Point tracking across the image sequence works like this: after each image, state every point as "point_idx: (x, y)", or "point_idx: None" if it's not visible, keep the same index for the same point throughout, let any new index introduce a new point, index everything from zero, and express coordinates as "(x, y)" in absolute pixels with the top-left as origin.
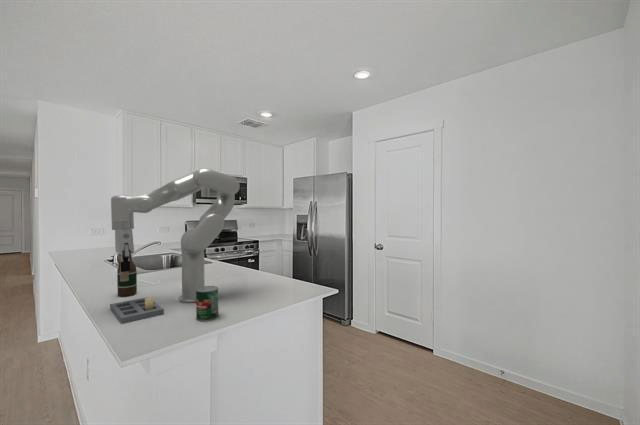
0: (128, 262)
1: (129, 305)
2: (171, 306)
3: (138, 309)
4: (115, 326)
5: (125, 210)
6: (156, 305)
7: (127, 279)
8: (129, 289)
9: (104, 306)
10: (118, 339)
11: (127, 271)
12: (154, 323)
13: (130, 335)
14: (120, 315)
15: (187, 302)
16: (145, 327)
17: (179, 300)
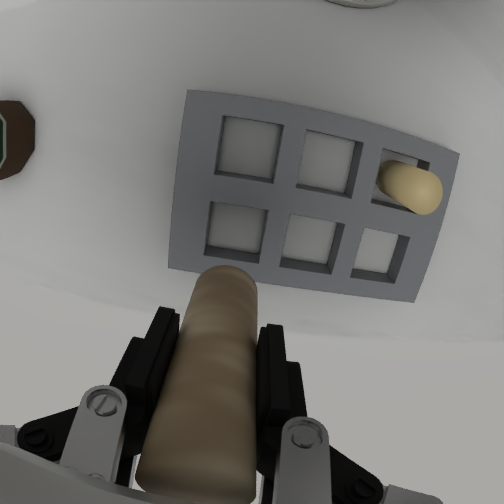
0: (285, 406)
1: (272, 219)
2: (380, 66)
3: (375, 220)
4: (408, 310)
5: None
6: (389, 138)
7: (255, 288)
8: (14, 138)
9: (114, 259)
10: (486, 327)
11: (251, 329)
12: (489, 224)
13: (493, 302)
14: (383, 295)
15: (392, 2)
16: (490, 256)
17: (345, 3)
